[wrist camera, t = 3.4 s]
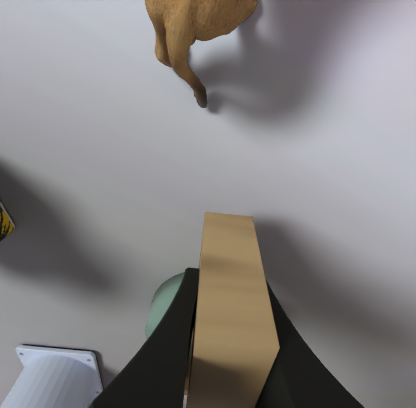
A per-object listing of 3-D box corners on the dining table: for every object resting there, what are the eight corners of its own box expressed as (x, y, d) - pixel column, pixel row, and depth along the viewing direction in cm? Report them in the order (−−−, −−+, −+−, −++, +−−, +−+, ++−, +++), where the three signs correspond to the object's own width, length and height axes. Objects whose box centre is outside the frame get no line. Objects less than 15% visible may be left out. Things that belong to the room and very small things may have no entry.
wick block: (237, 283, 16) (249, 420, 10) (197, 279, 16) (185, 415, 10) (252, 216, 14) (279, 347, 8) (205, 211, 14) (194, 340, 8)
